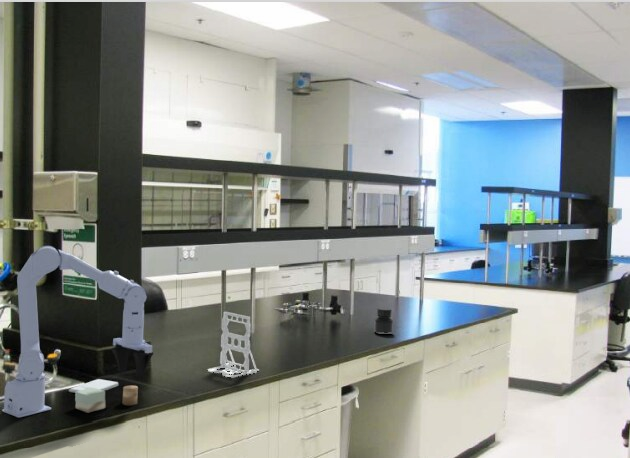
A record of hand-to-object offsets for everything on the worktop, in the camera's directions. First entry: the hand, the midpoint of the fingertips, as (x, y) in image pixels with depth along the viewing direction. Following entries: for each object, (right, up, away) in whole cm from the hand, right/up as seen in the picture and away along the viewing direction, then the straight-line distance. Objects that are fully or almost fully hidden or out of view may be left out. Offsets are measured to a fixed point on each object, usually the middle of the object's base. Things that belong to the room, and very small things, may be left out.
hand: (131, 374), depth 180 cm
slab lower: (-10, -8, -6) cm, 14 cm away
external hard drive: (-15, -8, +13) cm, 21 cm away
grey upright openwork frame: (+23, -9, +41) cm, 48 cm away
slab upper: (-10, -6, -6) cm, 13 cm away
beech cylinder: (0, -8, 0) cm, 8 cm away
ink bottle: (+85, -9, +125) cm, 151 cm away
